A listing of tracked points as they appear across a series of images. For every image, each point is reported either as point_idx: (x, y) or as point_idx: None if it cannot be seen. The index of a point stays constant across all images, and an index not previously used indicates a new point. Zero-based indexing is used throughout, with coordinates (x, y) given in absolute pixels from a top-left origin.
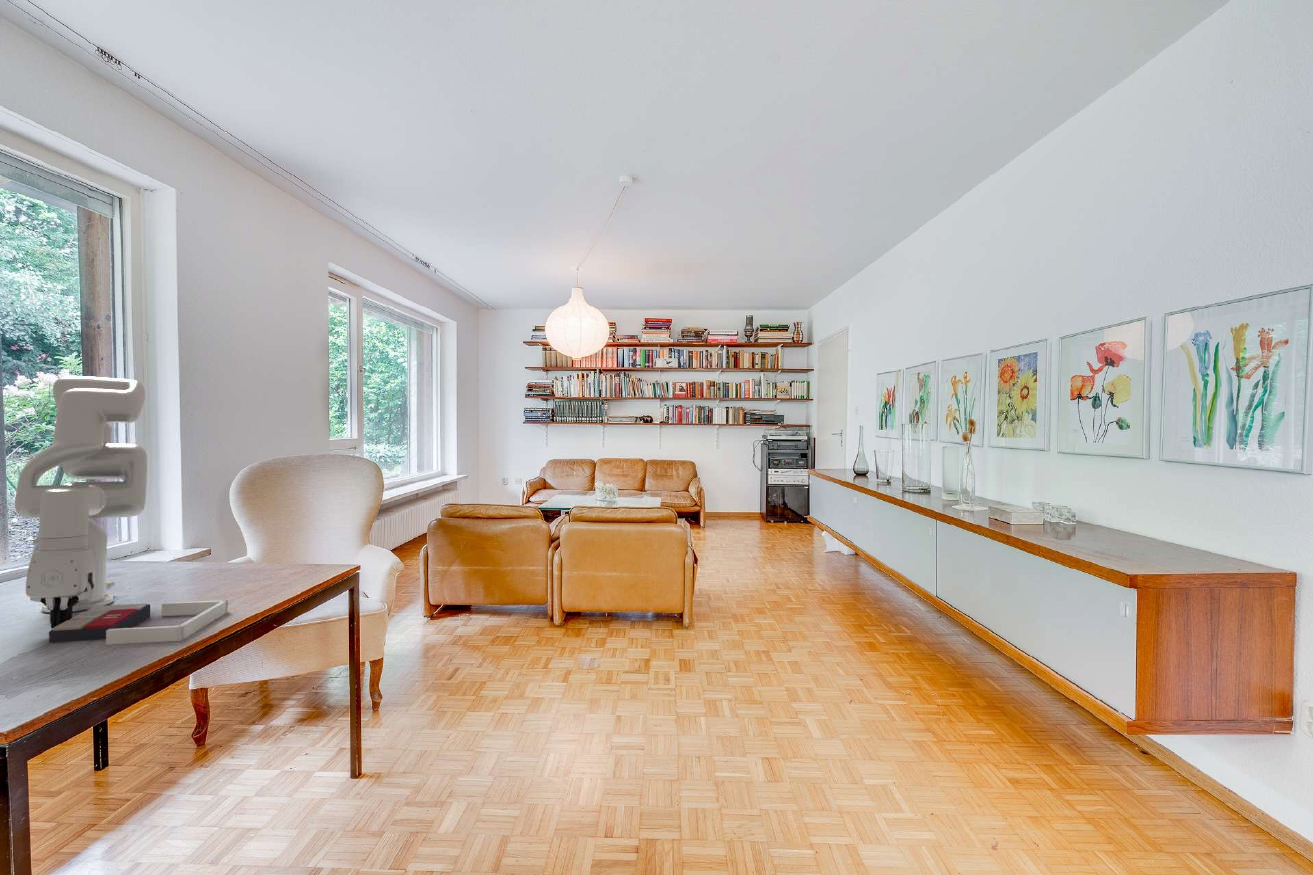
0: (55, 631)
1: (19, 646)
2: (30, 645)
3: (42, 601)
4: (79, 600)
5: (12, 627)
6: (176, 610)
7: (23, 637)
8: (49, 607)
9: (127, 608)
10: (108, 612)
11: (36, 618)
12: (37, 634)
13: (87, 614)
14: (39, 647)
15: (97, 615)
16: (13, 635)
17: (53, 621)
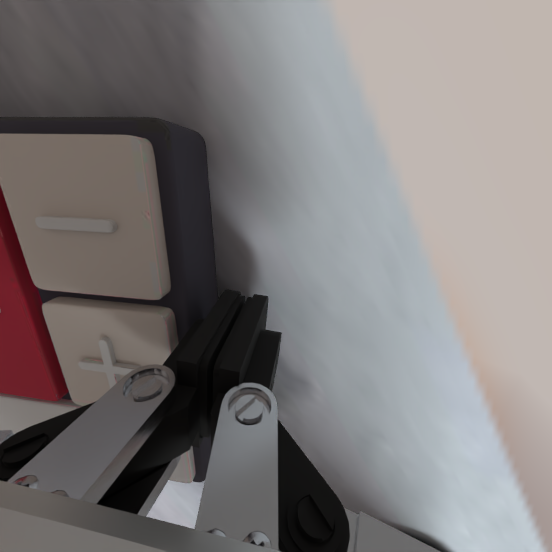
0: (126, 120)
1: (322, 95)
2: (270, 101)
3: (324, 503)
4: (8, 431)
5: (496, 439)
6: None
7: (384, 277)
8: (254, 407)
9: (23, 408)
10: (47, 369)
11: (447, 508)
12: (341, 308)
13: (108, 355)
14: (192, 36)
15: (59, 334)
16: (446, 326)
17: (244, 311)
